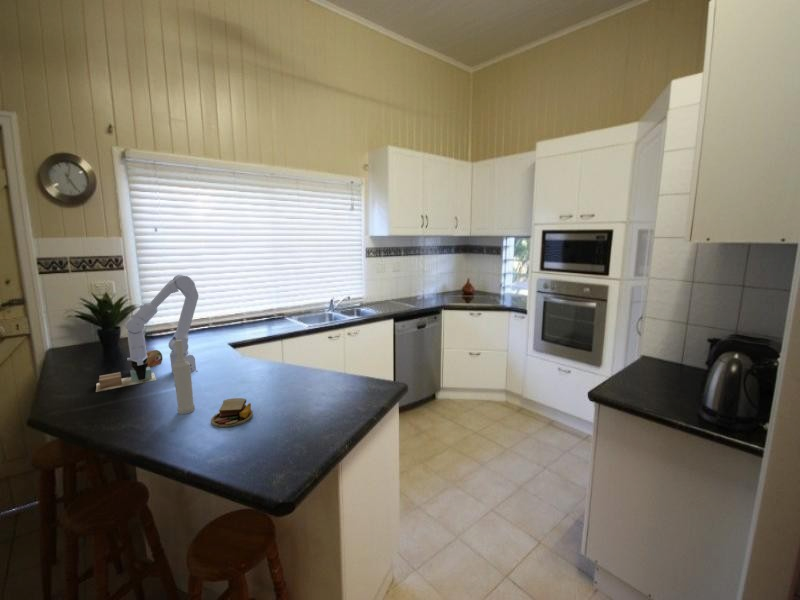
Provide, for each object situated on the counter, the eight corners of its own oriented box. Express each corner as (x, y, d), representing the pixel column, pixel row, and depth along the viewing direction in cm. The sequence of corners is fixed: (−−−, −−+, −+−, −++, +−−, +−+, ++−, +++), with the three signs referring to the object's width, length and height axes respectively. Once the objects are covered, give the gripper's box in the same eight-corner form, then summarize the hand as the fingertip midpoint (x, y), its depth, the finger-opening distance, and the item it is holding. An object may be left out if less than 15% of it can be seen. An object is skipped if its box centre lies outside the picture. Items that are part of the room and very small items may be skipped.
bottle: (191, 406, 133) (183, 337, 129) (197, 410, 130) (190, 339, 126) (175, 411, 129) (167, 340, 125) (181, 415, 126) (173, 343, 122)
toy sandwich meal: (203, 429, 116) (202, 415, 116) (223, 410, 130) (221, 397, 129) (244, 428, 117) (243, 413, 116) (259, 409, 130) (258, 396, 129)
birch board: (154, 374, 168) (153, 372, 168) (156, 382, 159) (156, 379, 158) (96, 385, 156) (96, 383, 156) (96, 394, 147) (95, 391, 146)
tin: (136, 375, 168) (134, 357, 167) (130, 375, 169) (128, 357, 167) (164, 364, 183) (162, 348, 181) (158, 364, 183) (156, 347, 182)
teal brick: (151, 378, 160) (150, 369, 160) (131, 382, 156) (130, 373, 155) (150, 375, 164) (149, 366, 163) (131, 379, 160) (130, 370, 159)
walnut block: (122, 384, 154) (120, 376, 153) (100, 388, 150) (99, 380, 149) (121, 380, 159) (120, 372, 159) (100, 384, 155) (99, 375, 155)
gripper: (125, 344, 161) (129, 375, 163) (126, 351, 150) (130, 384, 152) (144, 341, 165) (148, 371, 167) (147, 348, 154) (151, 380, 156)
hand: (141, 377), depth 160 cm, fingers closed on teal brick, 5 cm apart
